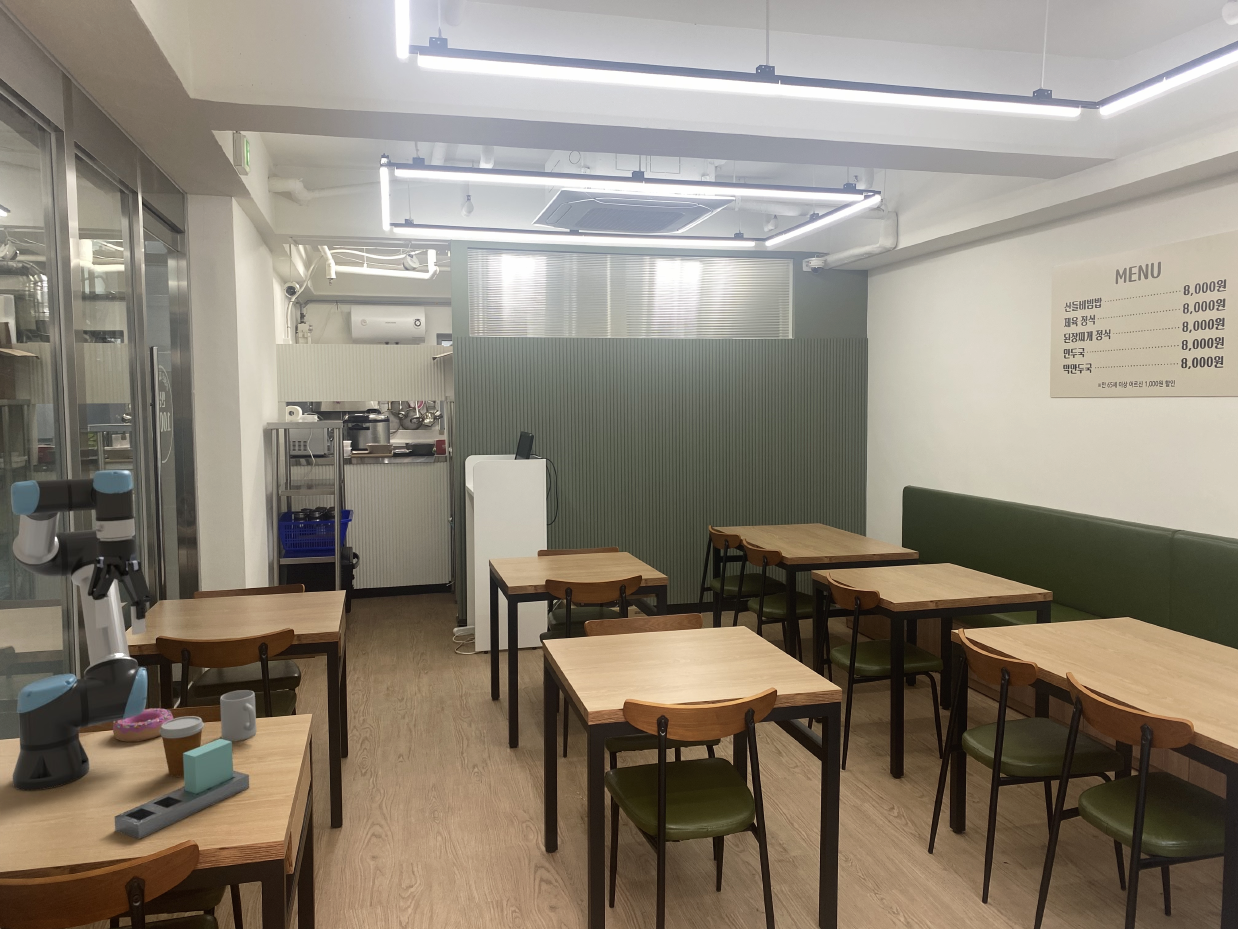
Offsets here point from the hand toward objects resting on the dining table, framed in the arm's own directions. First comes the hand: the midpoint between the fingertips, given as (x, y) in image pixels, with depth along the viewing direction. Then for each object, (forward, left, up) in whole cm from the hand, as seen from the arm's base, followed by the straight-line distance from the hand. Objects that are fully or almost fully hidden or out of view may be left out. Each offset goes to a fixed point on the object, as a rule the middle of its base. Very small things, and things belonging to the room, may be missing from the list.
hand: (120, 630), depth 190 cm
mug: (-2, +32, -37) cm, 49 cm away
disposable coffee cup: (+4, +11, -37) cm, 39 cm away
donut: (-29, +22, -37) cm, 52 cm away
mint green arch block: (+22, +5, -36) cm, 43 cm away
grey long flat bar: (+22, -1, -37) cm, 43 cm away
